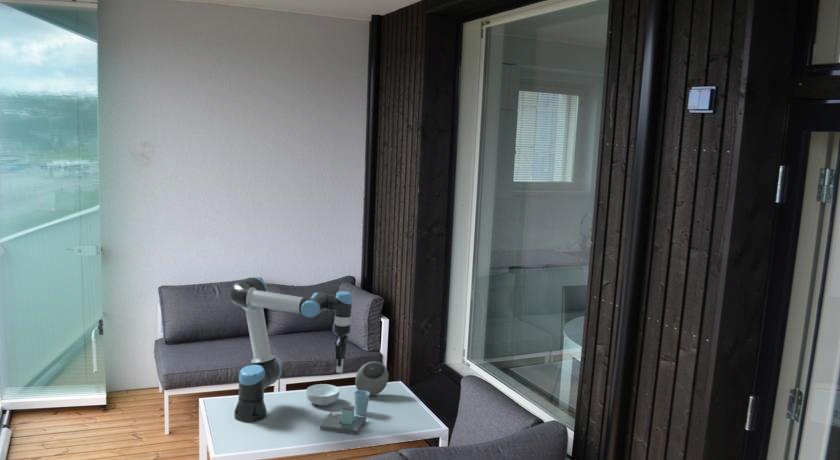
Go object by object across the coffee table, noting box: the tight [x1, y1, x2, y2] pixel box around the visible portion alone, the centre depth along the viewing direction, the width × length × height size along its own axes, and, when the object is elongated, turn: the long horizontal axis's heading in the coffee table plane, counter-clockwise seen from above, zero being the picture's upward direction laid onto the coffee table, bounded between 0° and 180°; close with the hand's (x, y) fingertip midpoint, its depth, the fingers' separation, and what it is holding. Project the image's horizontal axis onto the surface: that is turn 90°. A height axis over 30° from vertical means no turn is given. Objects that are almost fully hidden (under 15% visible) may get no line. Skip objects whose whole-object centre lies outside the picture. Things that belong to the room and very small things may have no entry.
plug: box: [341, 404, 355, 425], centre depth 331 cm, size 5×4×9 cm
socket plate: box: [319, 412, 367, 436], centre depth 332 cm, size 18×16×3 cm
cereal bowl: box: [305, 383, 340, 407], centre depth 357 cm, size 17×17×7 cm
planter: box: [354, 361, 389, 397], centre depth 370 cm, size 18×7×19 cm, turn 115°
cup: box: [353, 390, 370, 416], centre depth 347 cm, size 8×8×10 cm
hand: (339, 372), depth 335 cm, fingers closed
